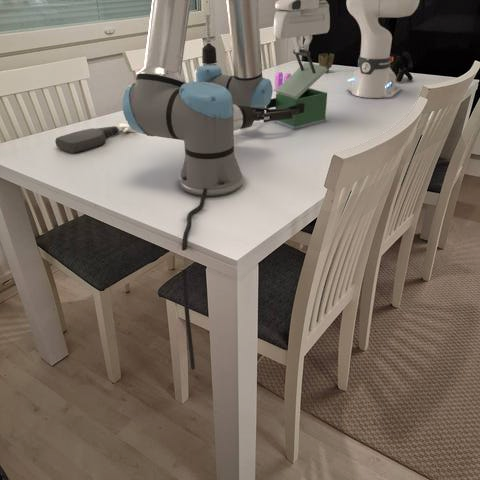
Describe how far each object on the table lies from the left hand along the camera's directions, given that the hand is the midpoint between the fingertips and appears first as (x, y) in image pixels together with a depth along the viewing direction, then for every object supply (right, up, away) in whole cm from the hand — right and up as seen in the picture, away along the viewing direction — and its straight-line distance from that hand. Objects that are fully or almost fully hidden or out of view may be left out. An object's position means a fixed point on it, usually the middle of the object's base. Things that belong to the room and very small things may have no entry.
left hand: (292, 104), depth 146 cm
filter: (-29, +12, +33) cm, 45 cm away
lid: (+3, +7, -2) cm, 7 cm away
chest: (+3, -4, +5) cm, 8 cm away
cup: (+24, +37, +71) cm, 84 cm away
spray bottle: (-61, -13, -7) cm, 63 cm away
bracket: (+4, +21, +45) cm, 50 cm away
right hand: (+2, +14, -7) cm, 16 cm away
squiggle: (+55, +27, +54) cm, 82 cm away
